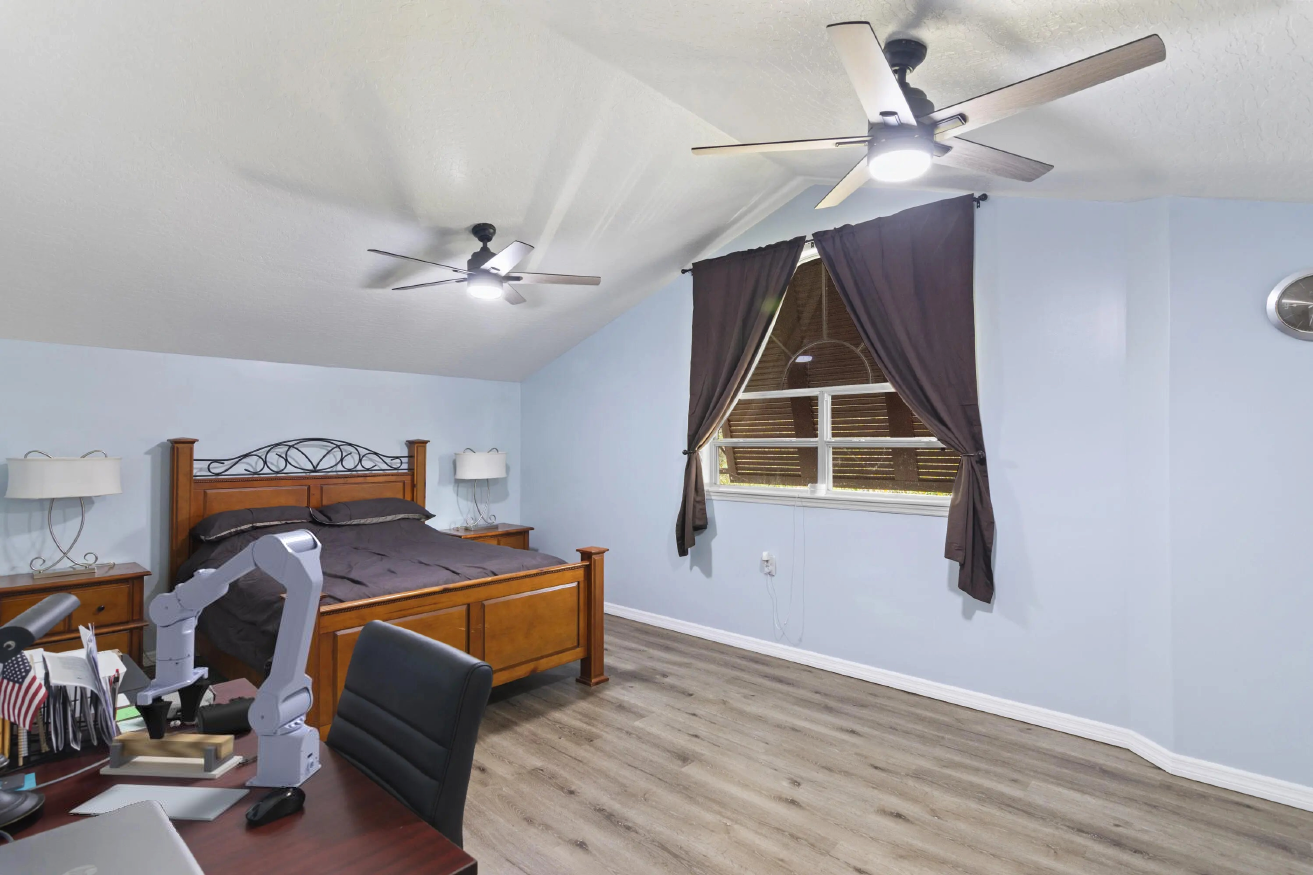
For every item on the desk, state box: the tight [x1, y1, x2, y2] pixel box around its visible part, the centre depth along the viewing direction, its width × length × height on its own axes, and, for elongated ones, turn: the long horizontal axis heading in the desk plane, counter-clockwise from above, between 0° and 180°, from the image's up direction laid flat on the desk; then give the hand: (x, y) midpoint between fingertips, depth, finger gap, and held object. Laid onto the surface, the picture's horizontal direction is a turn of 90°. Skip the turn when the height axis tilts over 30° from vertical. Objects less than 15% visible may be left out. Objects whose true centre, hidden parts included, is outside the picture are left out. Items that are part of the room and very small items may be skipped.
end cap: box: [193, 695, 256, 735], centre depth 138 cm, size 10×7×7 cm
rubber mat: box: [68, 783, 250, 821], centre depth 112 cm, size 24×9×1 cm, turn 86°
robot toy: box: [162, 685, 224, 728], centre depth 147 cm, size 12×4×15 cm
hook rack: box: [99, 734, 243, 780], centre depth 124 cm, size 22×7×5 cm, turn 86°
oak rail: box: [112, 731, 233, 759], centre depth 124 cm, size 21×3×3 cm, turn 86°
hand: (173, 729), depth 124 cm, fingers open, 7 cm apart
